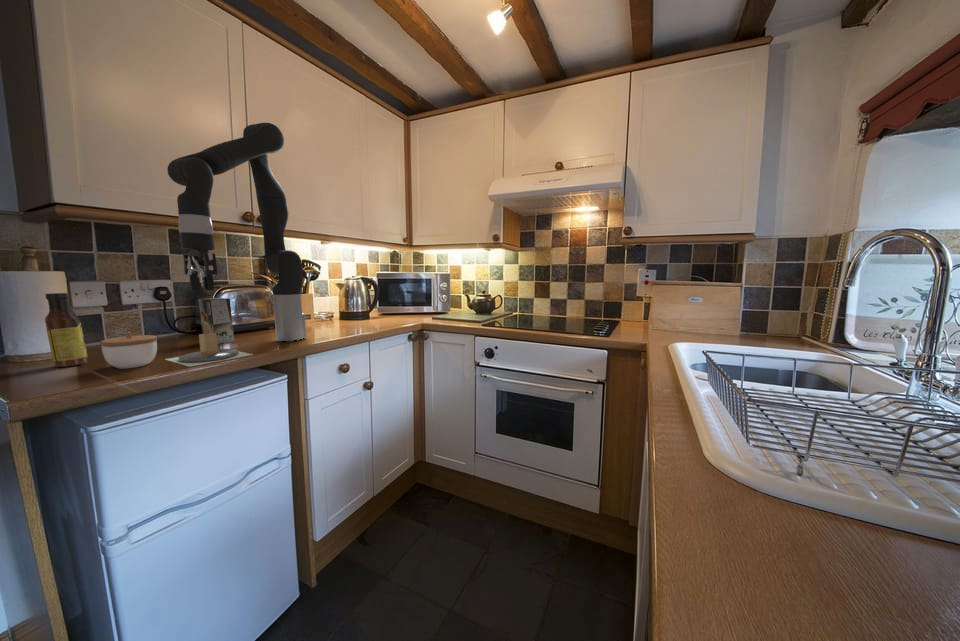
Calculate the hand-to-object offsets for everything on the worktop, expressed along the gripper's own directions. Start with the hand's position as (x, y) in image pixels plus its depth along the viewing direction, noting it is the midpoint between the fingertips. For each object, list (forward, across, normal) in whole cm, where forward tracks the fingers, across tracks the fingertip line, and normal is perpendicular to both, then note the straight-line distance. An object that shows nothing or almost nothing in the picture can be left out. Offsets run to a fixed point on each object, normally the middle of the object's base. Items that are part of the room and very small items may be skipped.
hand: (202, 290), depth 101 cm
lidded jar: (+21, +7, +15) cm, 26 cm away
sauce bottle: (+21, +24, +23) cm, 39 cm away
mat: (+20, 0, 0) cm, 20 cm away
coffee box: (+20, +25, -13) cm, 35 cm away
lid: (+20, 0, 0) cm, 20 cm away
